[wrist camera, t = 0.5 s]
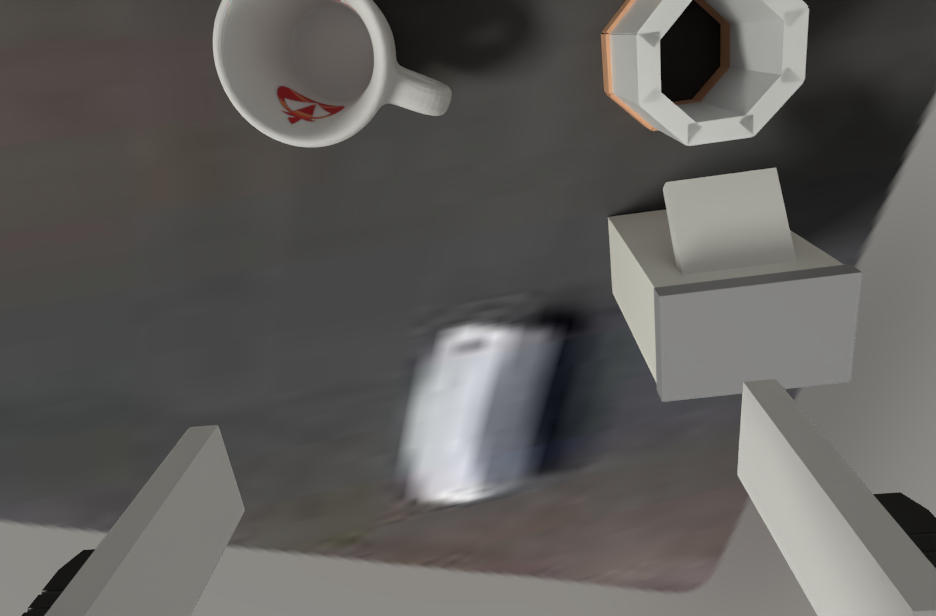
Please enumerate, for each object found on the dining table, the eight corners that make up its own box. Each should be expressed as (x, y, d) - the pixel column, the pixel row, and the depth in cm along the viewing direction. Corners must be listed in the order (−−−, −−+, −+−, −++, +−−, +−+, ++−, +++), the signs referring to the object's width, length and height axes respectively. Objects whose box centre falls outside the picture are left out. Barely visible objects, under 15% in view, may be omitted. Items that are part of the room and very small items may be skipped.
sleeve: (598, -13, 34) (629, -26, 26) (744, -36, 33) (818, -57, 26) (606, 133, 37) (636, 157, 29) (740, 114, 36) (806, 133, 29)
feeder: (602, 156, 37) (657, 214, 25) (745, 136, 36) (871, 186, 24) (610, 293, 41) (662, 401, 29) (742, 278, 40) (850, 381, 28)
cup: (478, 22, 34) (475, 19, 27) (432, 161, 38) (419, 192, 30) (285, -52, 33) (228, -76, 26) (255, 98, 36) (196, 113, 29)
